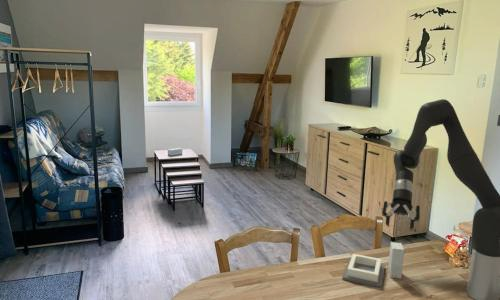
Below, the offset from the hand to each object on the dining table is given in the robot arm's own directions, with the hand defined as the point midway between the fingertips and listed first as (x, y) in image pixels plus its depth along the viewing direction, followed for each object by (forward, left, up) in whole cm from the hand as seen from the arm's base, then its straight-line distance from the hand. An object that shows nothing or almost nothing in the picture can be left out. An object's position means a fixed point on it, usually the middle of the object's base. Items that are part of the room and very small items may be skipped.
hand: (399, 227), depth 154 cm
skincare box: (0, +9, -16) cm, 18 cm away
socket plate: (+11, +13, -16) cm, 23 cm away
